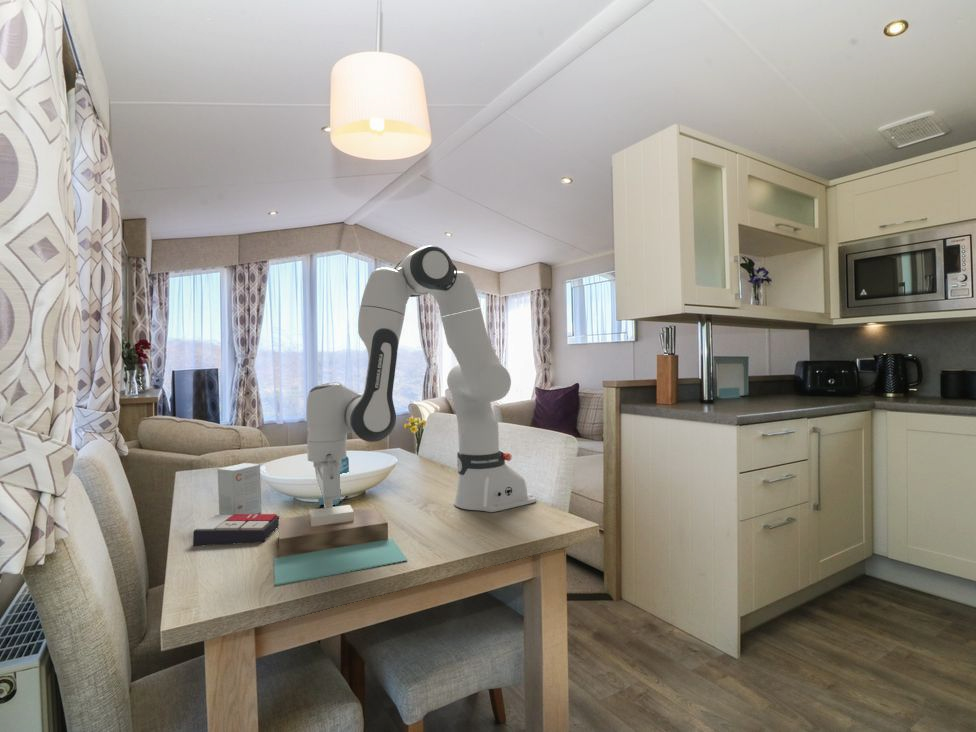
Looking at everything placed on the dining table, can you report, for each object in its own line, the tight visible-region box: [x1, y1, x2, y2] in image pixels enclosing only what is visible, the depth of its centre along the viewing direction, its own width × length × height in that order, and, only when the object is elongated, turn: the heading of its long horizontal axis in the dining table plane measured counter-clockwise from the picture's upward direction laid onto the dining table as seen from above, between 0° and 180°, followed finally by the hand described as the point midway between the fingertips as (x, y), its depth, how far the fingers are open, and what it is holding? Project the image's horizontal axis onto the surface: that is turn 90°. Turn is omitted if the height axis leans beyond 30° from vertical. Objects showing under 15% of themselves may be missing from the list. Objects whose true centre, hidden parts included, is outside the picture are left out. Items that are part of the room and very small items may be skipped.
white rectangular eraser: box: [308, 504, 354, 527], centre depth 112 cm, size 9×6×2 cm, turn 114°
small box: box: [217, 462, 262, 516], centre depth 129 cm, size 8×6×13 cm
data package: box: [317, 456, 350, 506], centre depth 142 cm, size 12×4×12 cm, turn 175°
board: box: [278, 505, 389, 557], centre depth 111 cm, size 22×14×4 cm, turn 114°
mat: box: [273, 538, 408, 587], centre depth 98 cm, size 24×13×1 cm, turn 114°
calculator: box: [192, 513, 280, 547], centre depth 114 cm, size 11×4×15 cm
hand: (328, 509), depth 117 cm, fingers closed
